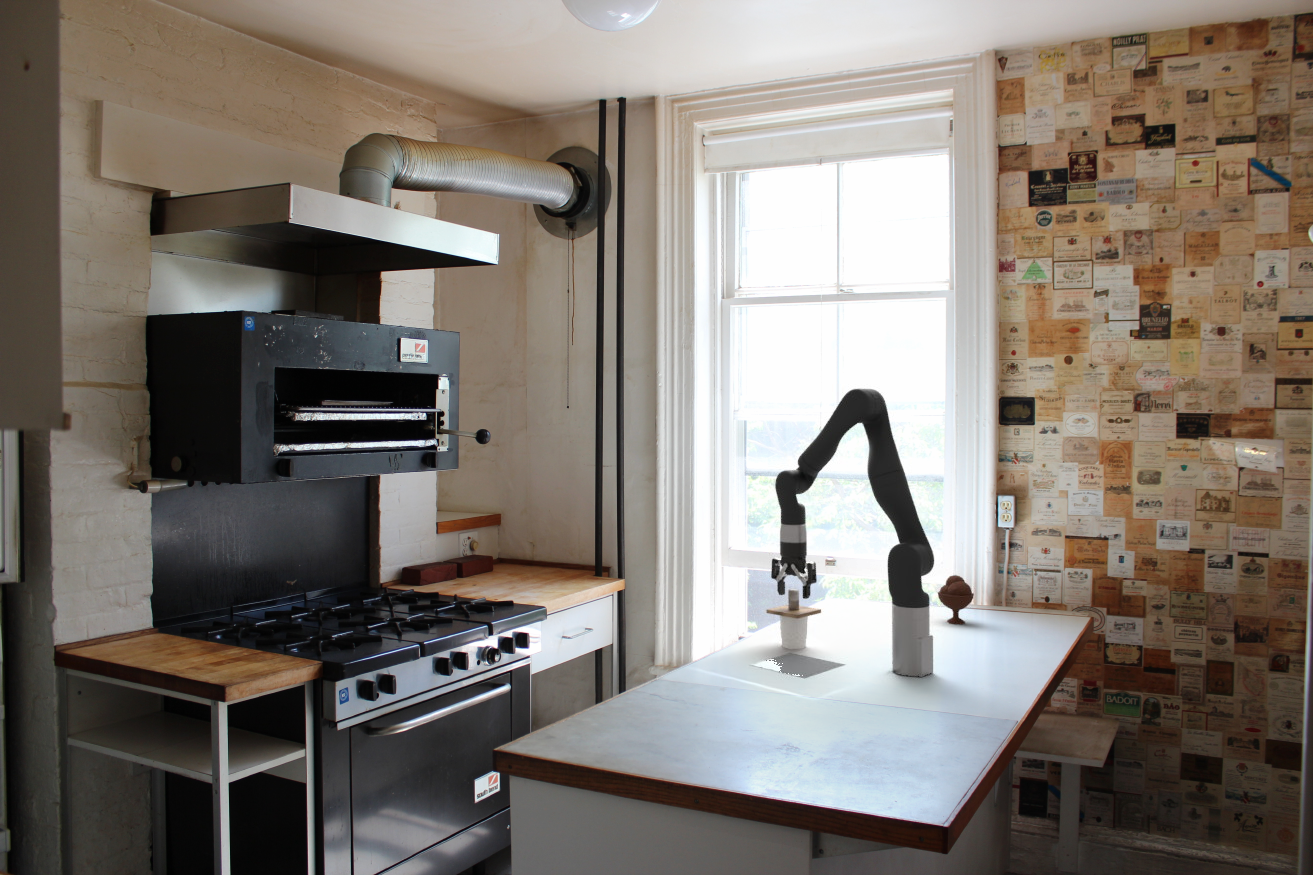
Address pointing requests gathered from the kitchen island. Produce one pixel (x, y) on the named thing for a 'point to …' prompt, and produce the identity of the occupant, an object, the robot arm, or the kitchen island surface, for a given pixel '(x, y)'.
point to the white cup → (793, 632)
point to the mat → (803, 665)
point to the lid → (793, 607)
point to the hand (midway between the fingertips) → (793, 596)
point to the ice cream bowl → (955, 597)
